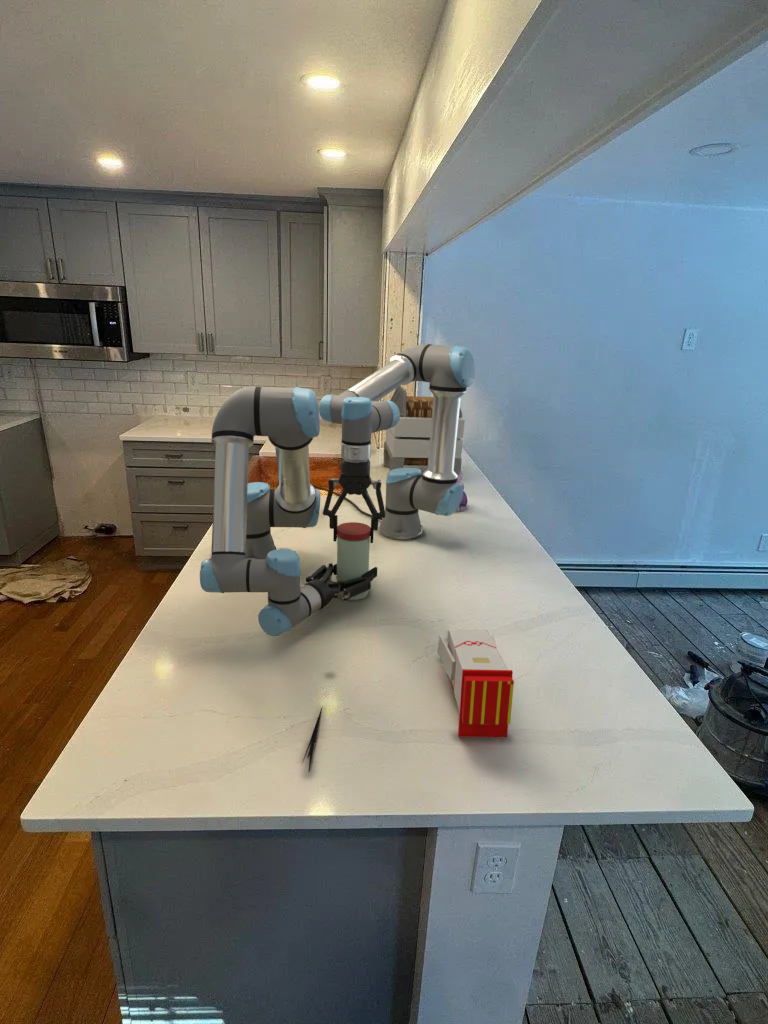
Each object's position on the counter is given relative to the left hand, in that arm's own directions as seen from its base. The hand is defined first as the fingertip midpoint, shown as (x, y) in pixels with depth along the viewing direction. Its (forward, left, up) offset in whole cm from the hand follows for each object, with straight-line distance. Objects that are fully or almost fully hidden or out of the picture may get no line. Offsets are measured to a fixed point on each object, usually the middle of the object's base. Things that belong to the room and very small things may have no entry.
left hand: (362, 567), depth 159 cm
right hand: (0, -5, +10) cm, 11 cm away
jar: (0, -5, -6) cm, 8 cm away
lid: (0, -5, +13) cm, 14 cm away
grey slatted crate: (-44, +114, -6) cm, 123 cm away
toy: (+45, -26, -6) cm, 52 cm away
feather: (+25, -50, -6) cm, 57 cm away
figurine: (-7, +79, -6) cm, 79 cm away
